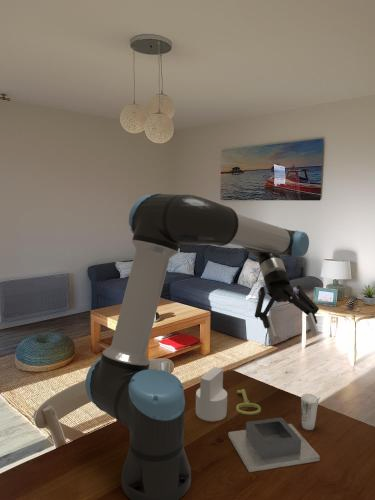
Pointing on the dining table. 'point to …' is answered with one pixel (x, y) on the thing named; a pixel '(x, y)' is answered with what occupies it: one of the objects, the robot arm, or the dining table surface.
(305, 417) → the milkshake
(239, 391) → the key
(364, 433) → the dining table surface
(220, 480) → the dining table surface
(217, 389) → the base with upright slab
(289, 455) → the holder
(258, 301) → the robot arm
